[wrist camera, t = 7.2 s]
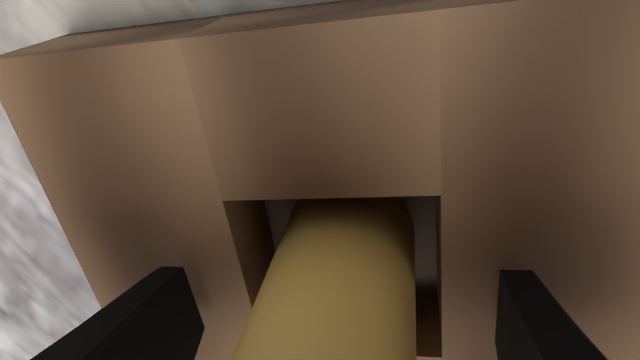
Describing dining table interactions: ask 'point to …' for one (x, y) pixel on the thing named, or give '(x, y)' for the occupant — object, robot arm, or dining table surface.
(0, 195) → the dining table surface
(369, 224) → the pin
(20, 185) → the dining table surface
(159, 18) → the dining table surface
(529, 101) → the bore block
